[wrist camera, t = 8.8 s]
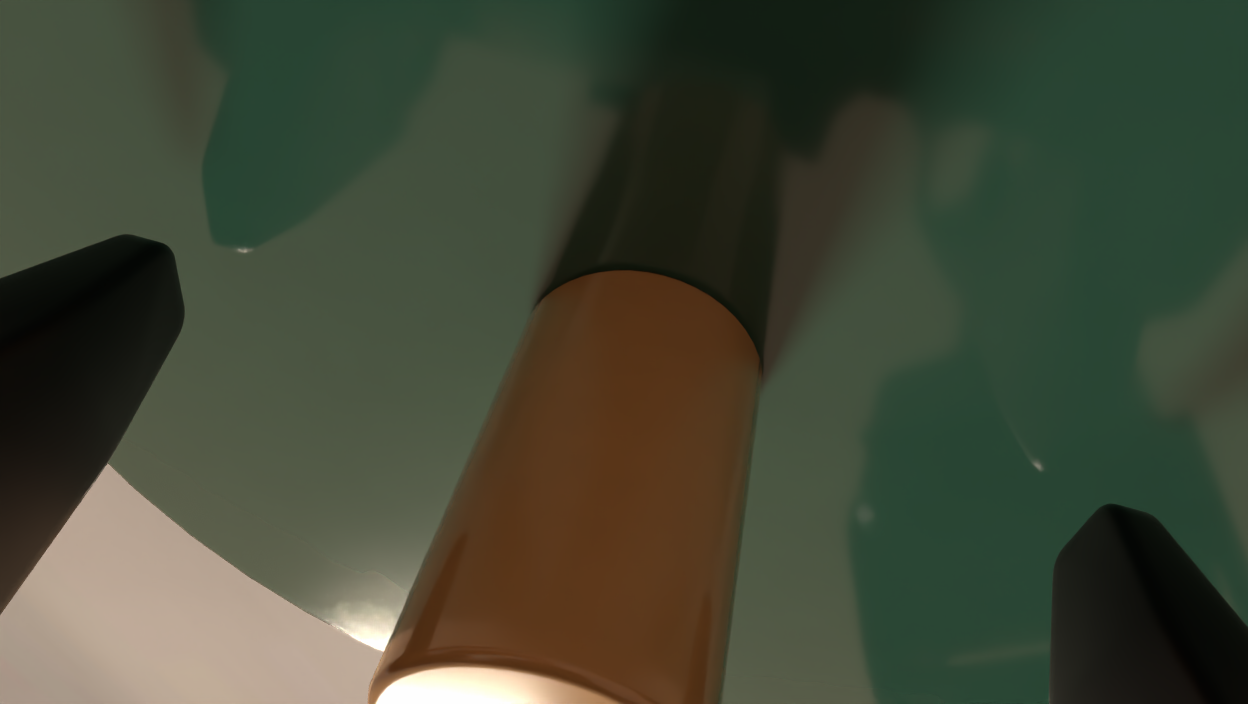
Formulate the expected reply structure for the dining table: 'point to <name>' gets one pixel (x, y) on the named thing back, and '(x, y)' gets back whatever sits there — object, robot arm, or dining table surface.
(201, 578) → the dining table surface
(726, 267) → the pot lid
